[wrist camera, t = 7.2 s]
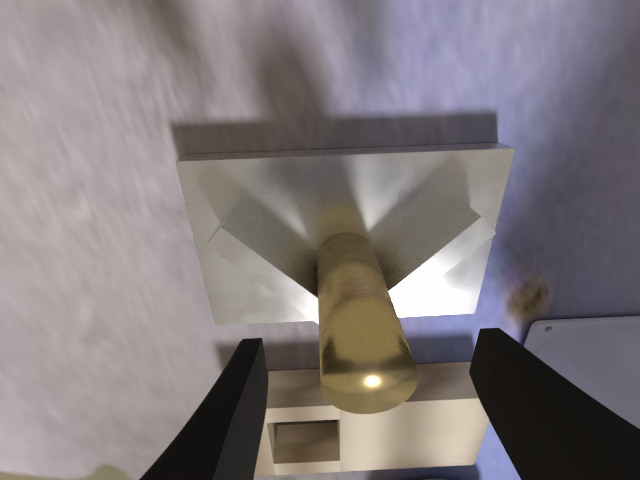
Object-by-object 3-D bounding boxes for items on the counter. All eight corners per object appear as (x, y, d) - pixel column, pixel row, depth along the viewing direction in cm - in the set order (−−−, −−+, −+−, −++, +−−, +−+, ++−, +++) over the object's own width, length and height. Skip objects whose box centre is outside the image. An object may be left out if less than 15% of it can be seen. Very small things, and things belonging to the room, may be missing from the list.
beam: (476, 361, 24) (497, 397, 21) (458, 427, 27) (474, 464, 25) (235, 372, 23) (225, 410, 21) (249, 437, 27) (243, 476, 24)
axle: (377, 232, 17) (427, 347, 10) (371, 282, 18) (409, 414, 11) (317, 231, 17) (322, 346, 10) (315, 281, 18) (318, 414, 11)
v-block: (498, 142, 16) (551, 160, 13) (464, 298, 21) (495, 343, 17) (186, 154, 16) (151, 176, 12) (221, 309, 21) (202, 357, 17)
